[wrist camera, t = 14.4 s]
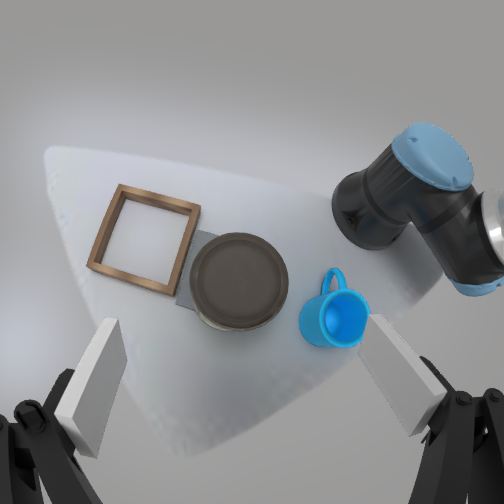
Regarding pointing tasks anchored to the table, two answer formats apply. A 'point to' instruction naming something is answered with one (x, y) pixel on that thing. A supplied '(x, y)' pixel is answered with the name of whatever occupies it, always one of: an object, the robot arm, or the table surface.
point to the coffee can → (238, 282)
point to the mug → (334, 315)
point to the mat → (184, 292)
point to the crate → (109, 223)
